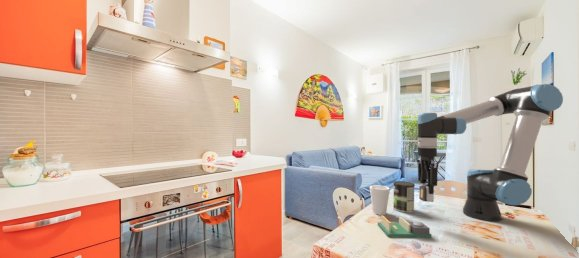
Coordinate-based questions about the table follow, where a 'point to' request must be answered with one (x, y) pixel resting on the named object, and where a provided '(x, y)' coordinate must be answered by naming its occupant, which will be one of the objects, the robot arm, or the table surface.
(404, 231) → the board
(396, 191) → the coffee can
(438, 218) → the table surface
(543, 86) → the robot arm
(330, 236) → the table surface
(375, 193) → the foam cup
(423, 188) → the plug
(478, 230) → the table surface
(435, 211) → the table surface
